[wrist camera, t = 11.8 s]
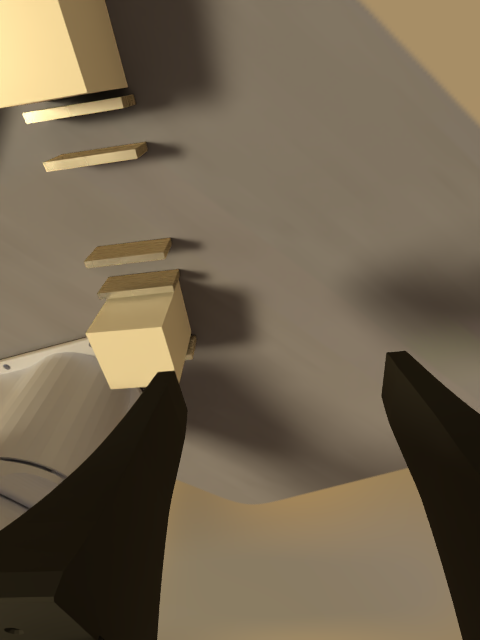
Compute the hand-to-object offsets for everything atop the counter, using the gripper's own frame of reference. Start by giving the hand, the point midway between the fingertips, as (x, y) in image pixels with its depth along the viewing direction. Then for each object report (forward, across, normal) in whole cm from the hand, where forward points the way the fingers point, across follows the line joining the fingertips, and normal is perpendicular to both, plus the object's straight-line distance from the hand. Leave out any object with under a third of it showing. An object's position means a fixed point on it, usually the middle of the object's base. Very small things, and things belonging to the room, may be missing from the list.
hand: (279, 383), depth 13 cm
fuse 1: (+10, +8, -11) cm, 17 cm away
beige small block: (+10, +8, +3) cm, 13 cm away
